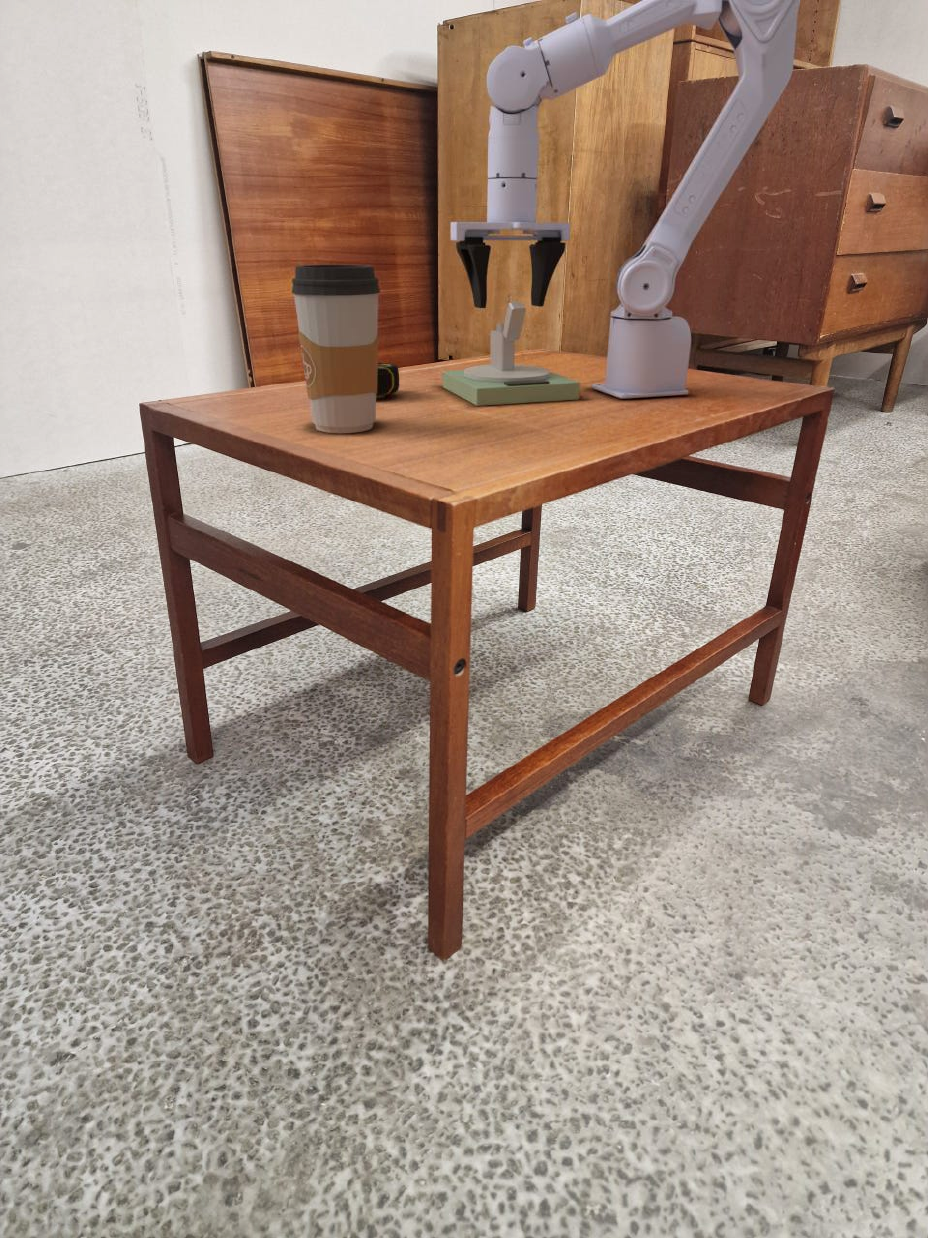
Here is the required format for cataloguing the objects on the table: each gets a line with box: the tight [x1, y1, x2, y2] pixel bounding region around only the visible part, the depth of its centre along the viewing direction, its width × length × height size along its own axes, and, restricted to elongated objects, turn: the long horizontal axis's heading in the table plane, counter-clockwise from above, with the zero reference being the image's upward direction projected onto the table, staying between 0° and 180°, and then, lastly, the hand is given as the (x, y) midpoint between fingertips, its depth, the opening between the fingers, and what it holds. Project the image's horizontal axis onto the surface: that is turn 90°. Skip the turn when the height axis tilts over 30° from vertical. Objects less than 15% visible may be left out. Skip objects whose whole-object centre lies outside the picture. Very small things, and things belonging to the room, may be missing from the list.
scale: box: [442, 363, 581, 407], centre depth 98 cm, size 13×13×3 cm
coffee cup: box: [291, 264, 381, 434], centre depth 78 cm, size 8×8×15 cm
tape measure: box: [376, 362, 400, 400], centre depth 96 cm, size 7×7×4 cm
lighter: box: [489, 301, 527, 371], centre depth 97 cm, size 7×2×8 cm, turn 19°
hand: (509, 306), depth 97 cm, fingers open, 7 cm apart
